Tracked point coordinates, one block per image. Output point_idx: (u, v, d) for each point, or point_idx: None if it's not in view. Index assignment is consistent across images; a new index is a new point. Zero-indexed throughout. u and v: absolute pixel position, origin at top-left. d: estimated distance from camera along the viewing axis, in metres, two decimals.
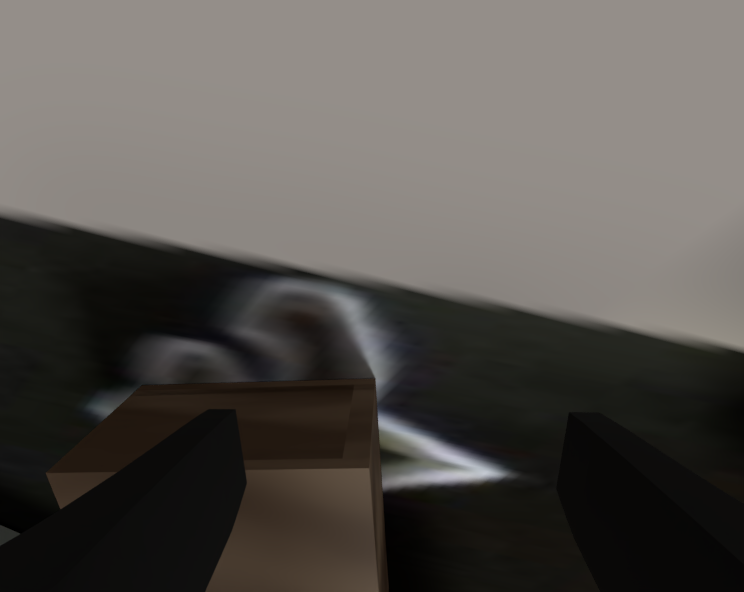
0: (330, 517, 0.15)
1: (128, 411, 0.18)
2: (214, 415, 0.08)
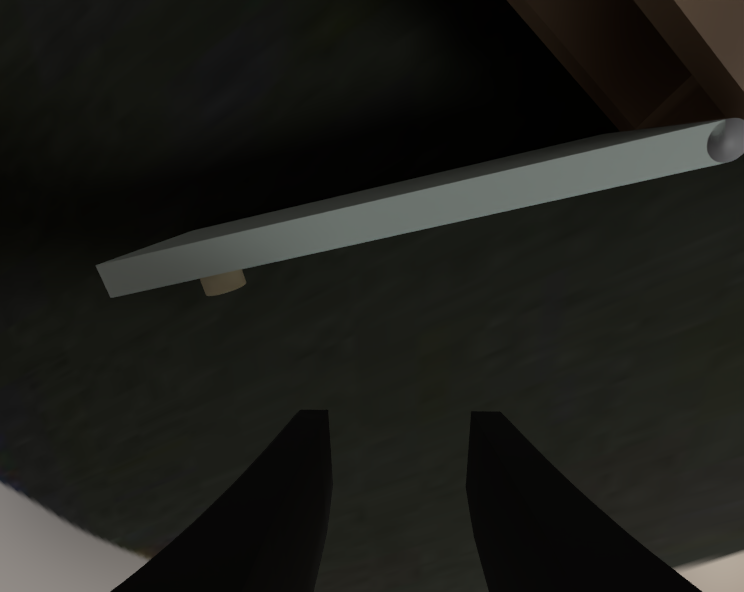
0: None
1: None
2: (311, 416, 0.08)
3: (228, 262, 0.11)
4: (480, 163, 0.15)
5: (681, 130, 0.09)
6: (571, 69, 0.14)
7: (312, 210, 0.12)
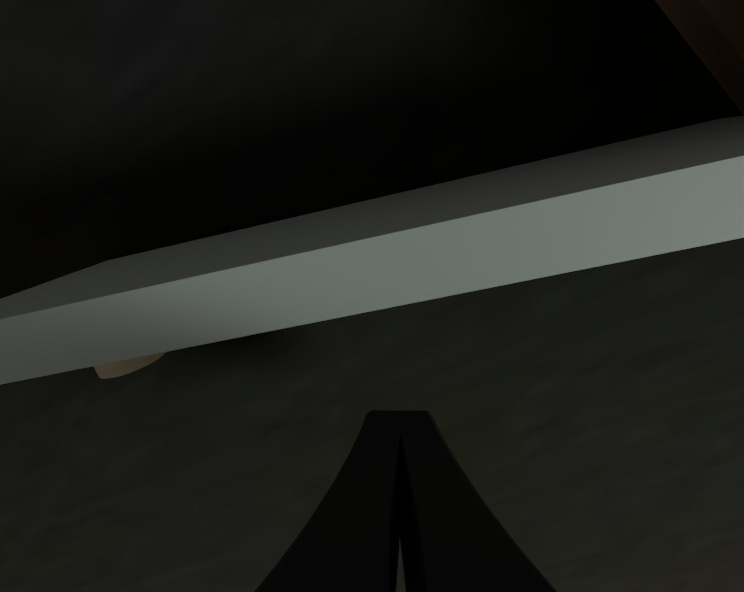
0: None
1: None
2: (385, 417, 0.08)
3: (90, 349, 0.06)
4: (530, 164, 0.10)
5: None
6: (677, 16, 0.09)
7: (257, 246, 0.07)
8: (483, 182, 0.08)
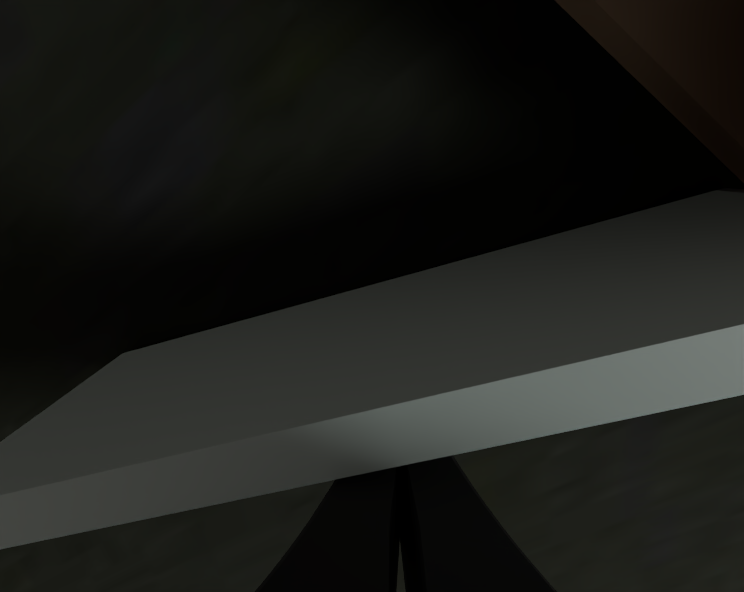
0: None
1: None
2: None
3: (117, 511, 0.06)
4: (531, 245, 0.10)
5: None
6: (666, 100, 0.09)
7: (269, 380, 0.07)
8: (486, 283, 0.08)
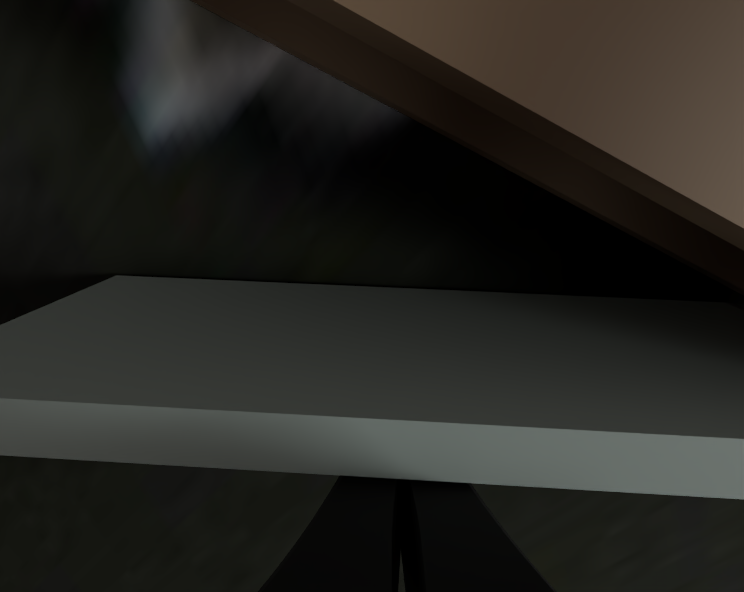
0: None
1: None
2: None
3: (118, 448, 0.06)
4: (556, 299, 0.10)
5: None
6: (652, 245, 0.10)
7: (301, 357, 0.07)
8: (518, 323, 0.09)
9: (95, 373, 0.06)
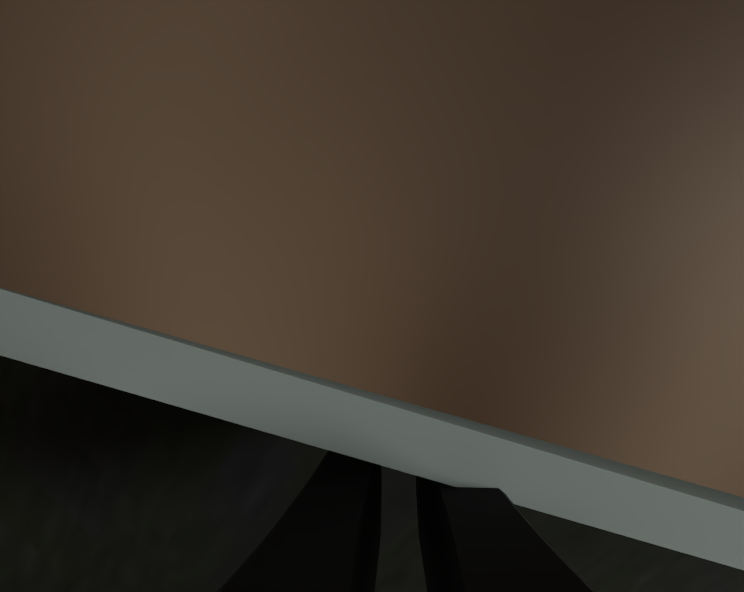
0: None
1: None
2: None
3: (155, 384, 0.05)
4: None
5: None
6: None
7: None
8: None
9: None
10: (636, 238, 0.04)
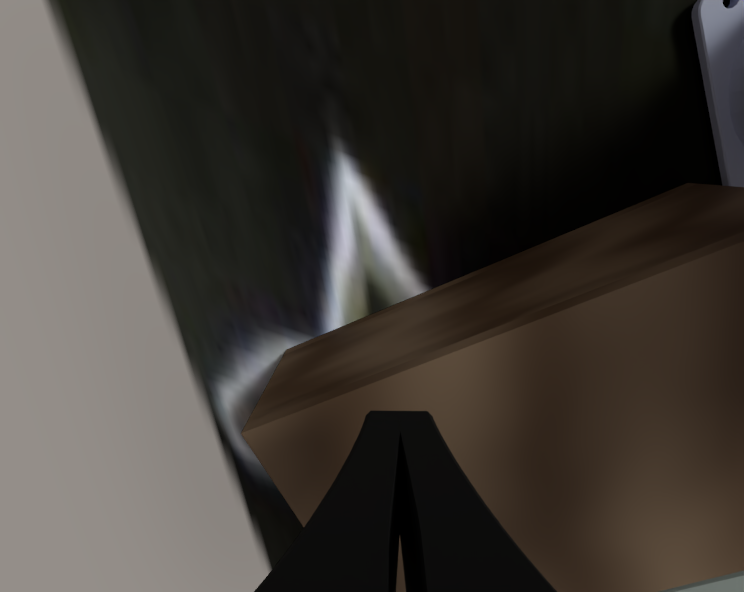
0: (324, 448, 0.13)
1: None
2: (384, 417, 0.08)
3: None
4: None
5: None
6: None
7: None
8: None
9: None
10: (595, 549, 0.14)
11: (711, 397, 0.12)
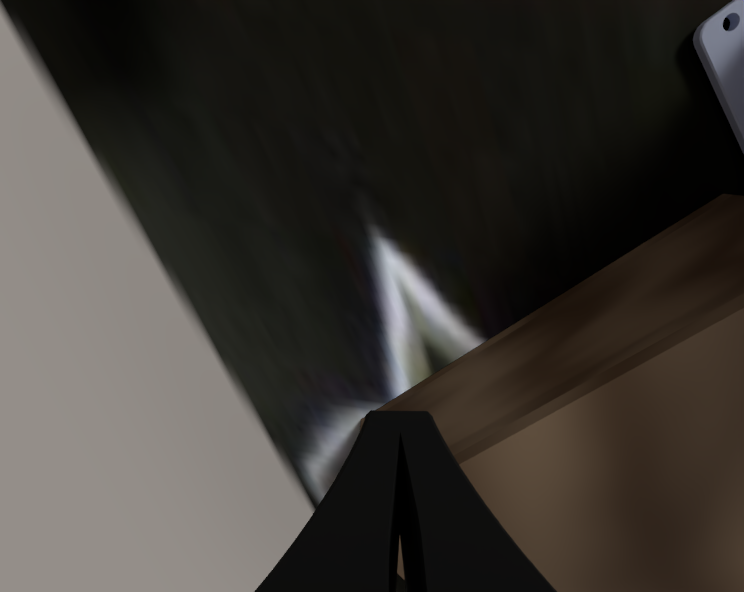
0: None
1: None
2: (385, 417, 0.08)
3: None
4: None
5: None
6: None
7: None
8: None
9: None
10: (710, 575, 0.14)
11: None
